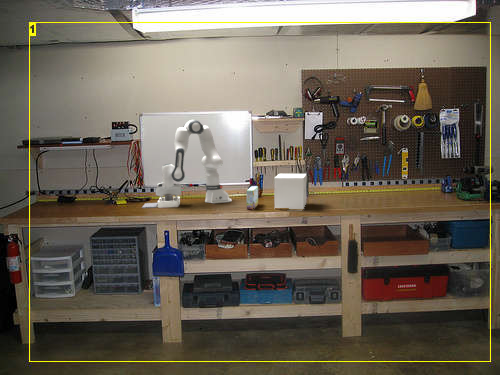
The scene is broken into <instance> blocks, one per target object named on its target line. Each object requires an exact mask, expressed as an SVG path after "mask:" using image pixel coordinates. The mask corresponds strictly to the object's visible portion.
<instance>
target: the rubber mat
mask: <svg viewBox="0 0 500 375" xmlns="http://www.w3.org/2000/svg"><path fill="white" fill-rule="evenodd" d="M156 208H158V202H148V203H144V204H143V205H142V207H141V209H156Z"/></svg>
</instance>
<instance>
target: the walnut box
mask: <svg viewBox="0 0 500 375" xmlns="http://www.w3.org/2000/svg"><path fill="white" fill-rule="evenodd" d="M164 197H165V201H173V197H174V195H165V196H164Z"/></svg>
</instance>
